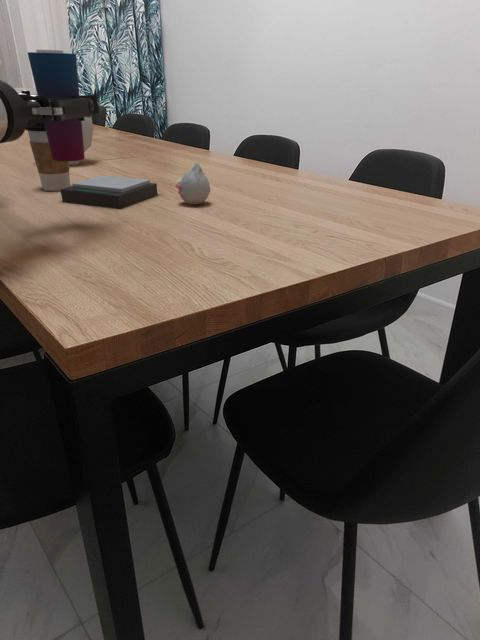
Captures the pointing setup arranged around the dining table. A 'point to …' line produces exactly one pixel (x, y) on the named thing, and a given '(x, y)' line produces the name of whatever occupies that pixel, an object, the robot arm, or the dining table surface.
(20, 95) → the robot arm
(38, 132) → the coffee cup
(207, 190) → the figurine
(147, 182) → the scale
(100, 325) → the dining table surface
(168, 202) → the dining table surface
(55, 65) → the cup
